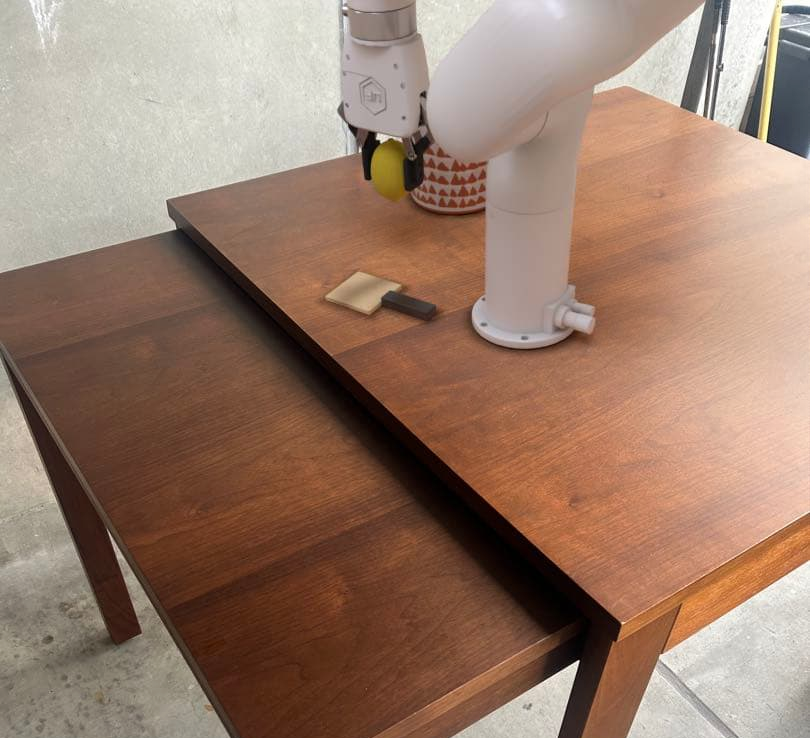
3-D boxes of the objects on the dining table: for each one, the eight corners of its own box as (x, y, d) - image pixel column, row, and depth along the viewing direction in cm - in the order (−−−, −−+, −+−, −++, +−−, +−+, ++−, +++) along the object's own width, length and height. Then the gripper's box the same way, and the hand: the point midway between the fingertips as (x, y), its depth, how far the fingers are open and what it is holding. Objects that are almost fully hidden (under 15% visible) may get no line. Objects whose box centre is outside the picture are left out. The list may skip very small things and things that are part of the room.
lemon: (412, 213, 108) (408, 148, 102) (369, 211, 109) (363, 147, 103) (420, 193, 112) (417, 129, 106) (378, 191, 113) (373, 128, 107)
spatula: (447, 303, 107) (447, 295, 106) (415, 331, 104) (415, 322, 103) (358, 274, 113) (357, 266, 112) (325, 300, 110) (324, 291, 109)
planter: (490, 220, 121) (492, 127, 112) (398, 211, 125) (392, 119, 115) (514, 177, 130) (517, 87, 121) (427, 169, 133) (424, 81, 124)
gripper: (301, 20, 97) (322, 179, 110) (428, 43, 90) (433, 209, 103) (342, 1, 101) (357, 156, 114) (466, 21, 94) (467, 184, 107)
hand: (393, 180), depth 108 cm, fingers closed on lemon, 5 cm apart
